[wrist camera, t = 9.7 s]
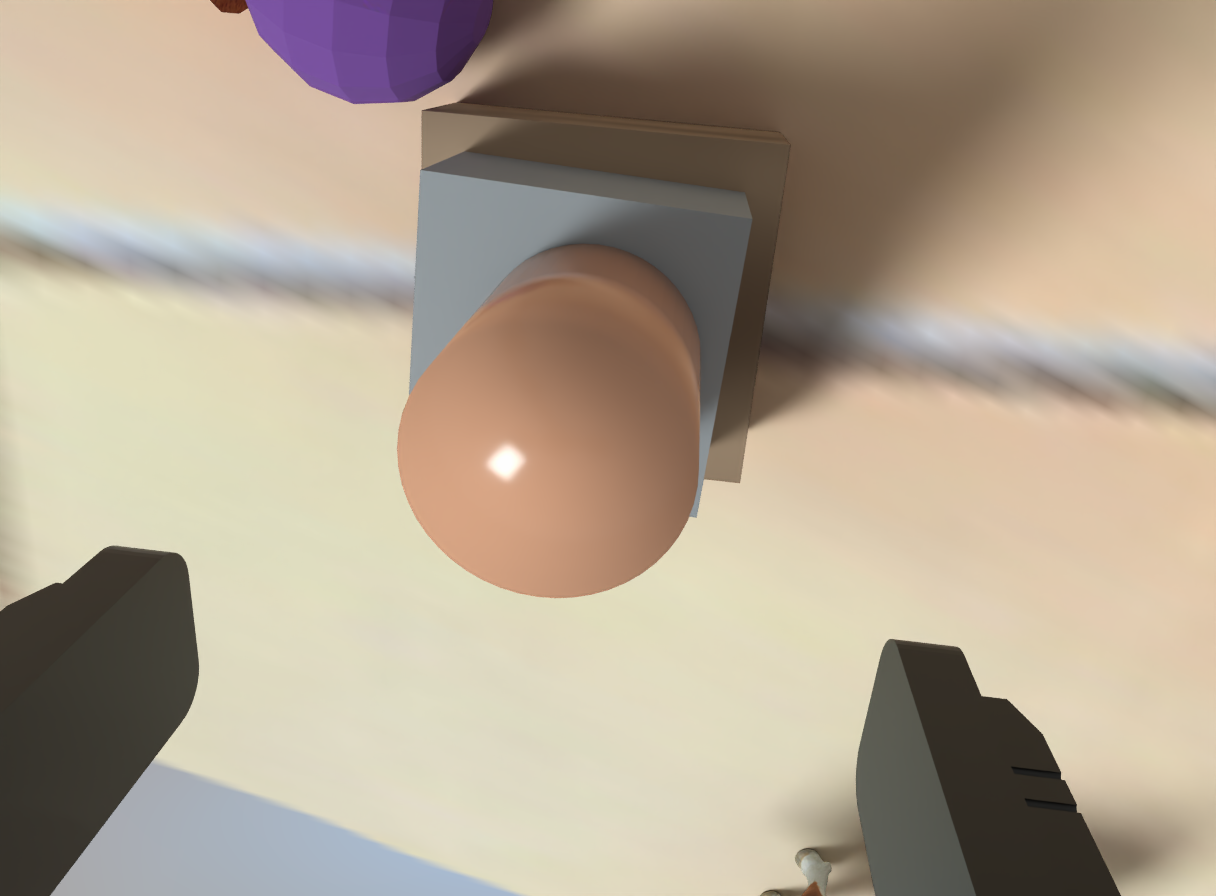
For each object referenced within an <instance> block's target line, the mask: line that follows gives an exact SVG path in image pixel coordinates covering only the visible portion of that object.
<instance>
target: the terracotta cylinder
mask: <svg viewBox="0 0 1216 896" xmlns="http://www.w3.org/2000/svg"><path fill="white" fill-rule="evenodd" d="M700 387H701V348H700V339H699V334H698V329H697V325H696V323H695V320H694V317H693V314H692V312H691V310H690V308H689V306H688V304H687V302H686V300H685V299H684V297H683V296H682V294H681V293H680V292H679V290H678V289H677V287H676V286H675V285H674V284H673V283H672V282H671V281H670V280H669V279H668V278H667V276H665V275H664V274H663V273H662V272H661V271H659V270H658V269H657V268H656V267H655V266H653V265H652V264H650V263H648V262H647V261H645V260H644V259H642V258H640V257H638V256H636V255H634V254H632V253H630V252H627V251H624V250H621V249H618V248H615V247H610V246H605V245H599V244H571V245H564V246H560V247H555V248H552V249H549V250H546V251H543V252H541V253H538V254H536V255H534V256H533V257H531V258H529V259H527V260H525V261H524V262H522V263H521V264H520V265H518V266H517V267H516V268H514V269H513V270H512V271H511V272H510V273H509V274H508V275H507V276H506V277H505V278H504V279H503V280H502V281H501V282H500V283H499V284H498V286H497V287H496V288H495V289H494V290H493V292H492V293H491V294H490V295H489V296H488V297H487V299H486V300H485V301H484V302H483V303H482V304H481V306H480V307H479V308H478V309H477V310H476V311H475V313H474V314H473V315H472V316H471V317H470V318H469V320H468V321H467V322H466V323H465V324H464V325H463V327H462V328H461V329H460V330H459V331H458V333H457V334H456V335H455V336H454V337H453V338H452V340H451V341H450V342H449V343H448V344H447V345H446V347H445V348H444V349H443V350H442V351H441V352H440V354H439V355H438V356H437V357H436V358H435V359H434V361H433V362H432V363H431V364H430V365H429V367H428V368H427V369H426V370H425V372H424V373H423V374H422V376H421V377H420V378H419V379H418V381H417V383H416V385H415V386H414V388H413V390H412V392H411V393H410V395H409V397H408V400H407V403H406V405H405V408H404V410H403V413H402V418H401V422H400V426H399V432H398V445H397V453H398V467H399V472H400V477H401V482H402V486H403V489H404V492H405V494H406V497H407V500H408V503H409V505H410V507H411V509H412V511H413V513H414V515H415V517H416V518H417V520H418V521H419V523H420V524H421V526H422V527H423V529H424V530H425V532H426V533H427V535H428V536H429V537H430V538H431V539H432V540H433V542H434V543H435V544H436V545H437V546H438V547H439V548H440V549H441V550H442V551H443V552H444V553H445V554H446V555H447V556H448V557H449V558H450V559H452V560H453V561H454V562H456V563H457V564H458V565H460V566H461V567H462V568H464V569H465V570H466V571H468V572H470V573H472V574H473V575H475V576H477V577H479V578H480V579H482V580H484V581H486V582H489V583H491V584H493V585H496V586H498V587H500V588H503V589H507V590H510V591H513V592H516V593H520V594H526V595H531V596H536V597H549V598H568V597H579V596H585V595H592V594H595V593H599V592H602V591H606V590H609V589H612V588H614V587H617V586H619V585H621V584H624V583H626V582H628V581H630V580H631V579H633V578H635V577H637V576H638V575H640V574H642V573H643V572H644V571H646V570H647V569H648V568H650V567H651V566H652V565H654V564H655V563H656V562H657V561H658V560H659V559H660V558H661V557H662V556H663V555H664V554H665V553H666V552H667V551H668V550H669V549H670V547H671V546H672V545H673V543H674V542H675V541H676V539H677V538H678V537H679V535H680V533H681V532H682V530H683V528H684V526H685V524H686V523H687V521H688V518H689V515H690V513H691V510H692V508H693V505H694V501H695V496H696V492H697V487H698V476H699V443H700Z"/></svg>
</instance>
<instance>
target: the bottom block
mask: <svg viewBox="0 0 1216 896" xmlns="http://www.w3.org/2000/svg"><path fill="white" fill-rule="evenodd" d="M464 151H466V152H473V153H480V154H486V155H493V156H500V157H507V158H514V159H520V160H527V161H534V162H541V163H548V164H555V165H561V166H568V167H575V168H582V169H589V170H595V171H602V172H609V173H616V174H623V175H629V176H636V177H643V178H650V179H657V180H664V181H670V182H677V183H684V184H691V185H698V186H704V187H711V188H718V189H725V190H732V191H738V192H745V194H746V198H747V201H748V205H749V209H750V212H751V216H752V224H751V229H750V235H749V240H748V245H747V251H746V256H745V261H744V267H743V272H742V277H741V283H740V288H739V293H738V299H737V304H736V309H735V315H734V320H733V325H732V331H731V336H730V341H729V347H728V352H727V357H726V363H725V368H724V373H723V379H722V384H721V389H720V395H719V400H718V405H717V411H716V416H715V421H714V427H713V432H712V437H711V443H710V448H709V453H708V459H707V464H706V469H705V475H704V479H708V480H717V481H725V482H734V483H740V479H741V473H742V466H743V459H744V453H745V446H746V439H747V433H748V426H749V419H750V412H751V406H752V399H753V392H754V386H755V379H756V372H757V366H758V359H759V352H760V345H761V339H762V332H763V325H764V319H765V312H766V305H767V299H768V292H769V285H770V279H771V272H772V265H773V258H774V252H775V245H776V238H777V232H778V225H779V218H780V212H781V205H782V198H783V192H784V185H785V178H786V171H787V165H788V158H789V151H790V144H789V142H788V141H787V140H786V139H785V137H784V136H783V135H782V134H781V133H780V132H773V131H762V130H752V129H741V128H730V127H719V126H708V125H697V124H686V123H676V122H665V121H654V120H643V119H632V118H621V117H611V116H600V115H589V114H578V113H567V112H556V111H545V110H535V109H524V108H513V107H502V106H491V105H480V104H470V103H459V102H457V103H452V104H448V105H443V106H439V107H435V108H430V109H426V110H422V169H424V168H426V167H429V166H431V165H433V164H436V163H438V162H440V161H443V160H445V159H448V158H450V157H452V156H455V155H457V154H459V153H462V152H464Z"/></svg>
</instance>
